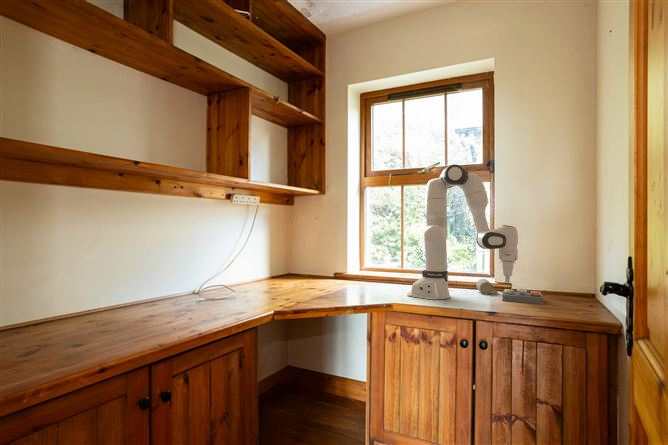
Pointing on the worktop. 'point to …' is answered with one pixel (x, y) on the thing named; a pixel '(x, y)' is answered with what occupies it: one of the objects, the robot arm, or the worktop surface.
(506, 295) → the button panel
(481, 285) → the ceramic mug
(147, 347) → the worktop surface
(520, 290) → the ivory button
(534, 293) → the terracotta button
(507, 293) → the sage button
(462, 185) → the robot arm
